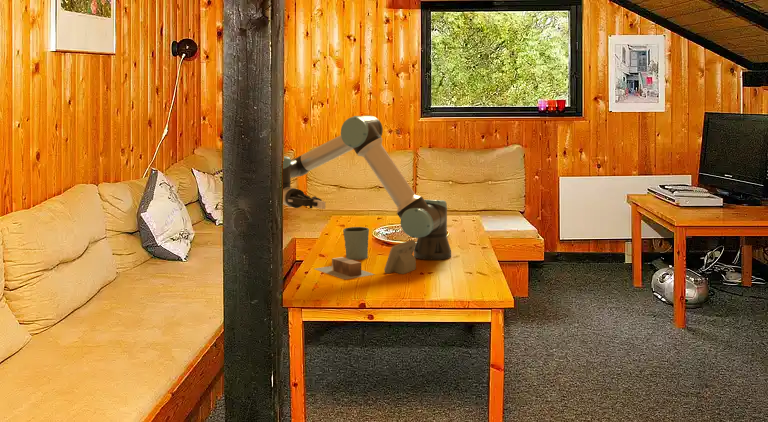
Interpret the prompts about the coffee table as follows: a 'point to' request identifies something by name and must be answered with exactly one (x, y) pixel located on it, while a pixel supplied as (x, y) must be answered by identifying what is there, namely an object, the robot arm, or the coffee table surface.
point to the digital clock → (401, 258)
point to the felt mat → (340, 275)
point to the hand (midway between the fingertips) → (323, 205)
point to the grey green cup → (356, 242)
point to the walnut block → (346, 266)
